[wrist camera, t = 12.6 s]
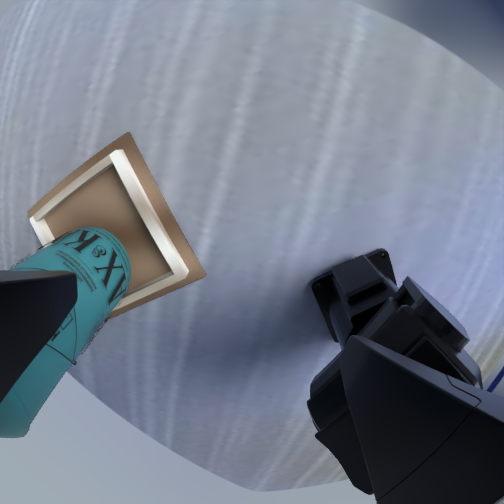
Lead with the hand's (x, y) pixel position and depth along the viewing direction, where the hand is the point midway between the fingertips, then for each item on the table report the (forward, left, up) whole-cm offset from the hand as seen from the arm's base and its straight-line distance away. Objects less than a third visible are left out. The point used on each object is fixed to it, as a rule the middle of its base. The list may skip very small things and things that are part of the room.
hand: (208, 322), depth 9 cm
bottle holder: (+3, +10, -13) cm, 17 cm away
